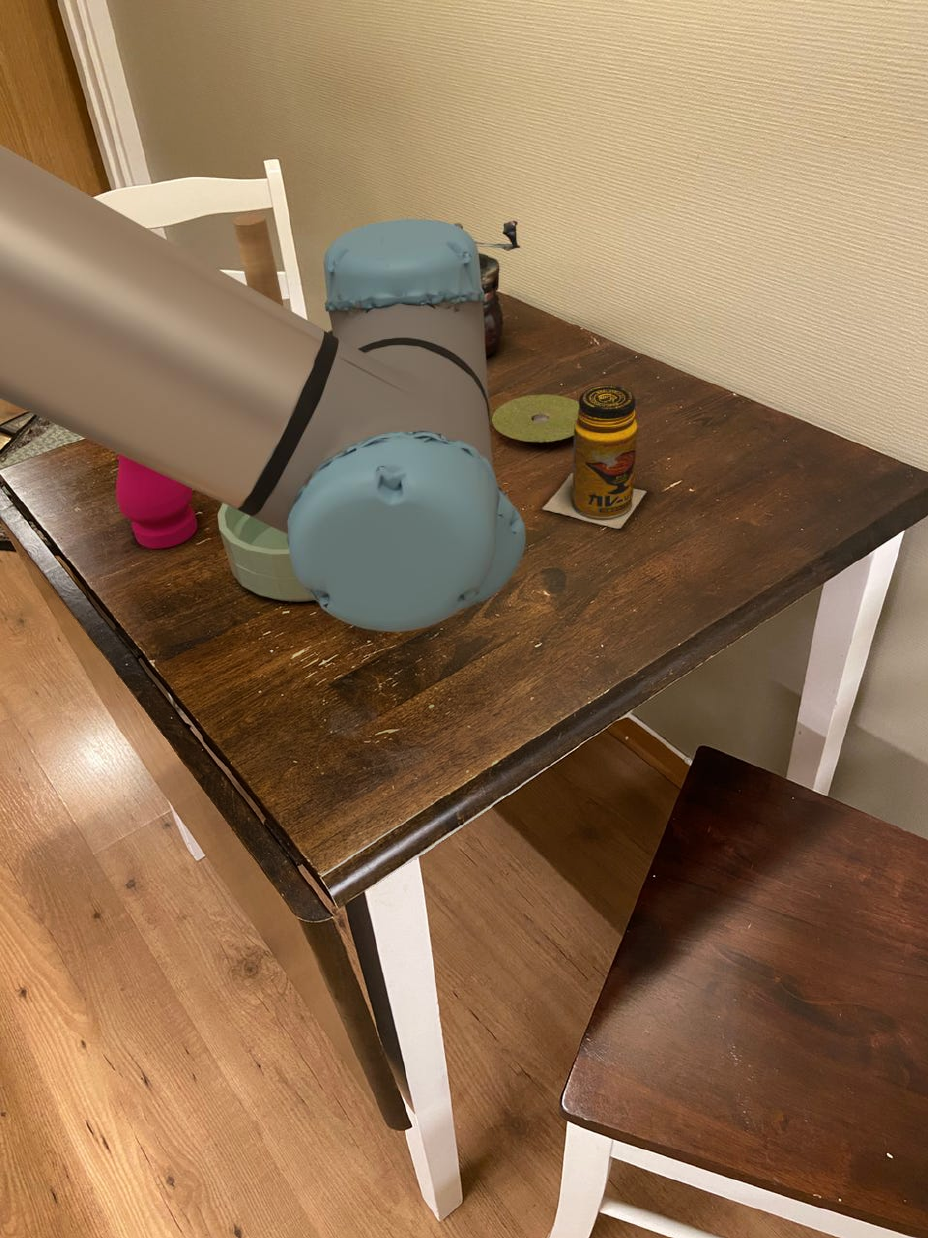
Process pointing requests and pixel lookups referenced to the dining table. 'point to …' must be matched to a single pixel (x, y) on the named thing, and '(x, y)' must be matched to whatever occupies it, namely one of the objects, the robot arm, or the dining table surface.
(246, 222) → the wooden post with base
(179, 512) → the pepper mill
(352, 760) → the dining table surface
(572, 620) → the dining table surface
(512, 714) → the dining table surface
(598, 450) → the condiment
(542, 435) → the olive green flat disc
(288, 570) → the bowl
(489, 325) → the coffee grinder
